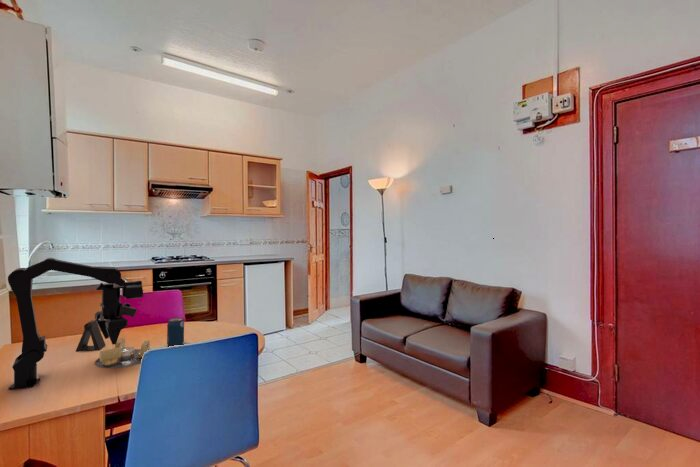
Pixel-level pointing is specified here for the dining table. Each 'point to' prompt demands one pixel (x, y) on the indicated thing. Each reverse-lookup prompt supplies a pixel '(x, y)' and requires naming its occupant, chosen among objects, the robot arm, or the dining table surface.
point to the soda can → (175, 332)
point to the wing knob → (110, 357)
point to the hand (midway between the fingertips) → (110, 341)
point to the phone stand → (96, 336)
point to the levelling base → (123, 363)
